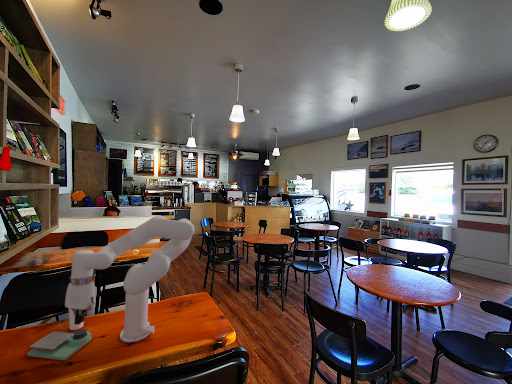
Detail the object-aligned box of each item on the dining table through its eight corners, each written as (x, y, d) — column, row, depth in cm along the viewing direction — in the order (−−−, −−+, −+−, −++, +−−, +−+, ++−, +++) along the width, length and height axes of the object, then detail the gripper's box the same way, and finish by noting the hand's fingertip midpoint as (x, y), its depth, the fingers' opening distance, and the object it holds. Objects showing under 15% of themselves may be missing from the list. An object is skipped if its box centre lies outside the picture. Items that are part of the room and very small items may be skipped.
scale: (94, 338, 103) (94, 331, 103) (66, 360, 90) (67, 353, 90) (59, 334, 105) (59, 327, 105) (27, 356, 91) (27, 348, 91)
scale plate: (74, 334, 101) (74, 333, 101) (52, 350, 91) (52, 349, 91) (53, 332, 101) (53, 331, 101) (28, 347, 92) (28, 346, 92)
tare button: (88, 334, 102) (89, 329, 102) (80, 340, 97) (80, 335, 97) (79, 333, 102) (79, 328, 102) (70, 339, 98) (70, 334, 98)
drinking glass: (69, 333, 105) (71, 300, 105) (65, 327, 110) (66, 295, 109) (87, 327, 111) (88, 295, 111) (82, 321, 115) (83, 291, 115)
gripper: (57, 281, 96) (54, 325, 97) (91, 285, 95) (88, 330, 95) (73, 274, 104) (70, 316, 104) (105, 278, 103) (102, 320, 103)
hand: (79, 322), depth 100 cm, fingers closed
